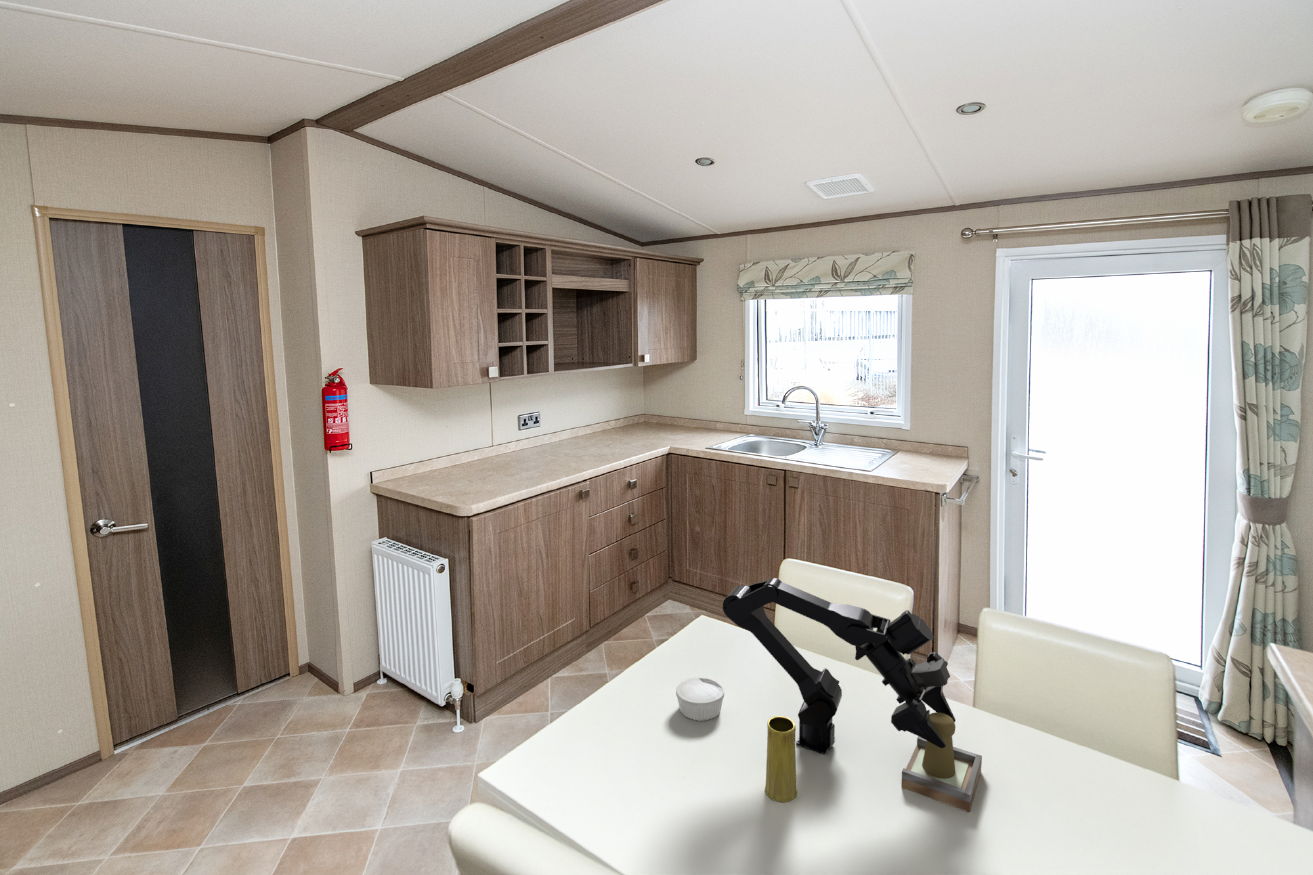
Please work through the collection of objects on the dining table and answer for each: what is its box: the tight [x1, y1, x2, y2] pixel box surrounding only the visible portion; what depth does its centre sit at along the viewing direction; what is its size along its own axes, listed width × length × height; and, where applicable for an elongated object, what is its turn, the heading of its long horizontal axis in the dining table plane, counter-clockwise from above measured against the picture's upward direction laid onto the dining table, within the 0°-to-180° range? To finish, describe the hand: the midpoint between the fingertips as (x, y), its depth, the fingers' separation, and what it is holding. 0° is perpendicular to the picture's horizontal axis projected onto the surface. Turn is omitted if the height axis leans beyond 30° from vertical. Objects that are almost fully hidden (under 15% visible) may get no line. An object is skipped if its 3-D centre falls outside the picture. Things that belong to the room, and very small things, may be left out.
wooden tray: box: [900, 736, 983, 813], centre depth 126 cm, size 12×13×4 cm
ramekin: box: [675, 677, 725, 722], centre depth 152 cm, size 11×11×5 cm
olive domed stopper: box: [922, 711, 956, 779], centre depth 126 cm, size 6×6×11 cm
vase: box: [764, 715, 798, 803], centre depth 124 cm, size 6×6×14 cm
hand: (949, 734), depth 125 cm, fingers open, 9 cm apart
